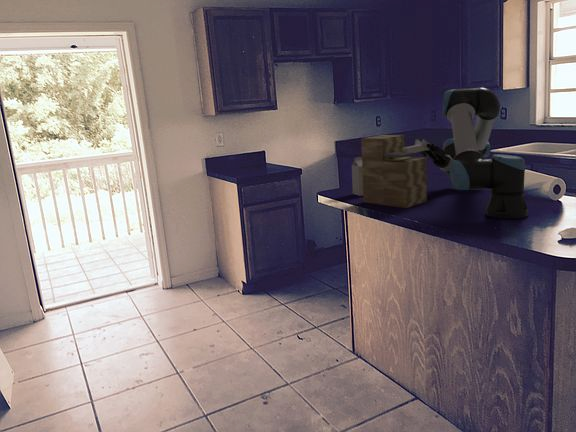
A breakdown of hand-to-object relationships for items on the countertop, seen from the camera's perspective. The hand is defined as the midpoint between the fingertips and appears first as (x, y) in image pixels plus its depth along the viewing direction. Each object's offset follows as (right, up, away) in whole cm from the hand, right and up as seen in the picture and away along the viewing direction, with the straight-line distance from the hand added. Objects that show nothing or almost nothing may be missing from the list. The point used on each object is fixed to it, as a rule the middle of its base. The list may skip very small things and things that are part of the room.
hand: (419, 142), depth 228 cm
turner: (-5, -6, -4) cm, 8 cm away
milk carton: (-22, -23, +26) cm, 41 cm away
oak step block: (-11, -27, +3) cm, 29 cm away
